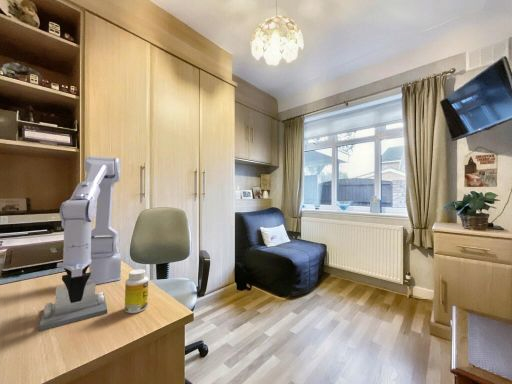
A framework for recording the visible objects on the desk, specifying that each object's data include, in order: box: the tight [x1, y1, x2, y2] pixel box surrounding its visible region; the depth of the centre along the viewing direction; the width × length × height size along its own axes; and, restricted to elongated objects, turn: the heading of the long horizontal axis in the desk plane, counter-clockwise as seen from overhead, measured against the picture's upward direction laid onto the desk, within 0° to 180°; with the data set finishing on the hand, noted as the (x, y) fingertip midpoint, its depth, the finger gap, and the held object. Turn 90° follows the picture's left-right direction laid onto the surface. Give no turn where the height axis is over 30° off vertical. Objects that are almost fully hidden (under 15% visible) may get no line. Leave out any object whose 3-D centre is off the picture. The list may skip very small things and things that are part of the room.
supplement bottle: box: [124, 268, 149, 314], centre depth 61 cm, size 6×6×10 cm
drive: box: [54, 279, 96, 315], centre depth 59 cm, size 8×4×6 cm, turn 129°
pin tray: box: [38, 291, 108, 332], centre depth 59 cm, size 13×12×3 cm
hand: (76, 295), depth 59 cm, fingers open, 7 cm apart
